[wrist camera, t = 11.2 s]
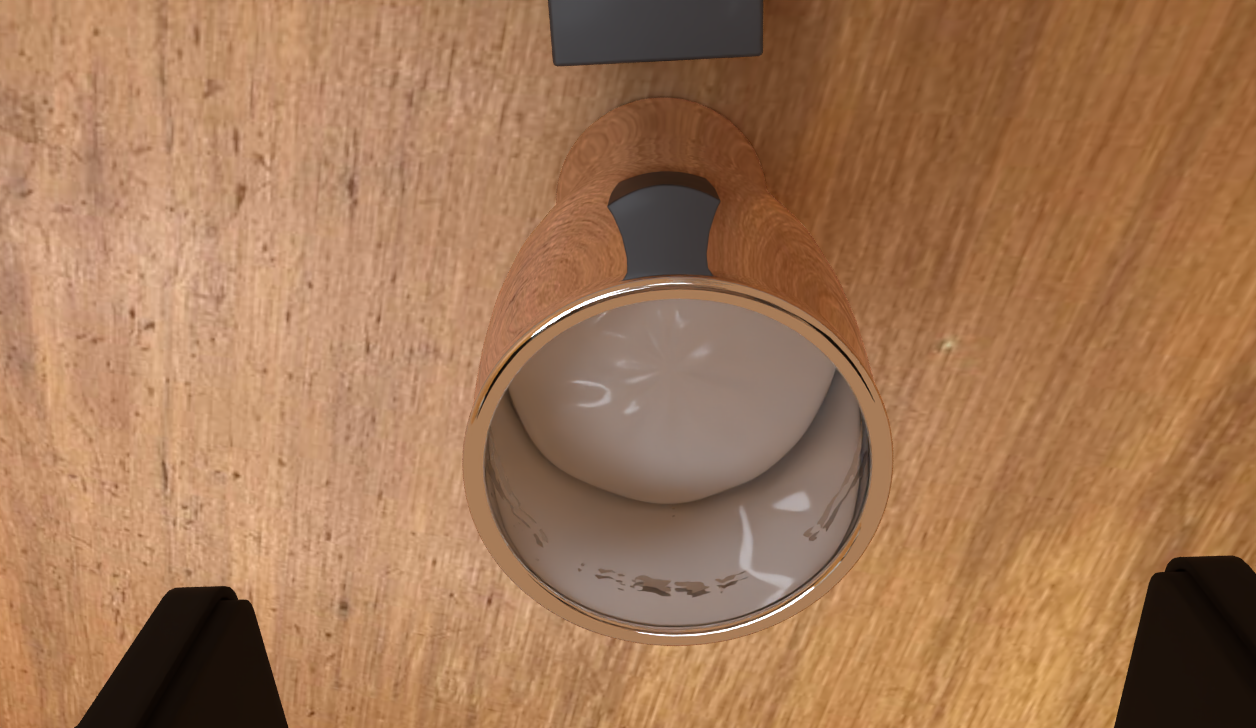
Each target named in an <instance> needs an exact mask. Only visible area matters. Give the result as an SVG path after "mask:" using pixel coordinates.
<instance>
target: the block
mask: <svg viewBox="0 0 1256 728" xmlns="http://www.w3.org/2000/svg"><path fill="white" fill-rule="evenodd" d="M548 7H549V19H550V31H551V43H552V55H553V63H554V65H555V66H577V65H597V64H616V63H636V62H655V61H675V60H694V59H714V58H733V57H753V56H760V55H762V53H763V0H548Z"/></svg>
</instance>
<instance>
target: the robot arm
mask: <svg viewBox="0 0 1256 728" xmlns="http://www.w3.org/2000/svg"><path fill="white" fill-rule="evenodd" d="M74 728H288V725H287V721H286V718H285V715H284V711H283V708H282V704H281V701H280V697H279V694H278V691H277V687H276V684H275V680H274V677H273V673H272V670H271V667H270V663H269V660H268V656H267V653H266V650H265V646H264V643H263V639H262V636H261V632H260V629H259V626H258V622H257V619H256V615H255V612H254V609H253V607H252V604H251V603H250V602H249V601H248V600H238V598H237V596H236V593H235V592H234V591H233V590H232V589H231V588H230V587H226V586H215V587H182V588H174V589H172V590H169V591H168V592H167V593H166V595H165V596H164V597H163V598H162V600H161V601H160V603H159V604H158V606H157V607H156V609H155V610H154V612H153V613H152V615H151V616H150V618H149V619H148V621H147V622H146V624H145V625H144V627H143V628H142V630H141V631H140V633H139V634H138V636H137V637H136V639H135V640H134V642H133V643H132V645H131V646H130V648H129V649H128V651H127V652H126V654H125V655H124V657H123V658H122V660H121V661H120V663H119V664H118V666H117V667H116V669H115V670H114V672H113V673H112V675H111V676H110V678H109V679H108V681H107V682H106V684H105V685H104V687H103V688H102V690H101V691H100V693H99V694H98V696H97V697H96V699H95V700H94V702H93V703H92V705H91V706H90V708H89V709H88V711H87V712H86V714H85V715H84V717H83V718H82V720H81V721H80V723H79V724H78V725H77V726H76V727H74ZM1114 728H1256V573H1255V572H1254V571H1253V570H1252V569H1251V568H1250V567H1249V565H1248V564H1247V563H1245V562H1244V561H1243V560H1242V559H1241V558H1238V557H1235V556H1201V557H1178V558H1174V559H1172V560H1171V561H1170V562H1169V563H1168V564H1167V567H1166V570H1165V572H1159V573H1155V574H1154V575H1153V576H1152V577H1151V580H1150V582H1149V585H1148V590H1147V594H1146V598H1145V602H1144V606H1143V610H1142V614H1141V618H1140V623H1139V627H1138V631H1137V635H1136V639H1135V643H1134V647H1133V651H1132V656H1131V660H1130V664H1129V668H1128V672H1127V676H1126V680H1125V684H1124V689H1123V693H1122V697H1121V701H1120V705H1119V709H1118V713H1117V717H1116V722H1115V726H1114Z"/></svg>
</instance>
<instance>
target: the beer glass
mask: <svg viewBox="0 0 1256 728" xmlns="http://www.w3.org/2000/svg"><path fill="white" fill-rule="evenodd" d="M462 467H463V481H464V489H465V494H466V499H467V503H468V507H469V510H470V514H471V516H472V519H473V522H474V524H475V527H476V529H477V531H478V533H479V535H480V537H481V539H482V541H483V543H484V545H485V546H486V548H487V550H488V551H489V553H490V554H491V556H492V557H493V559H494V560H495V561H496V563H497V564H498V565H499V567H500V568H501V569H502V570H503V571H504V573H505V574H506V575H507V576H508V577H509V578H510V579H511V580H512V581H513V582H514V583H515V584H516V585H517V586H518V587H519V588H520V589H521V590H522V591H524V592H525V593H526V594H527V595H528V596H530V597H531V598H532V599H533V600H535V601H536V602H537V603H539V604H540V605H541V606H543V607H544V608H546V609H548V610H549V611H551V612H552V613H554V614H556V615H557V616H559V617H561V618H563V619H565V620H567V621H569V622H571V623H573V624H575V625H577V626H580V627H582V628H584V629H587V630H589V631H592V632H595V633H598V634H601V635H605V636H608V637H611V638H615V639H619V640H624V641H629V642H635V643H641V644H650V645H663V646H688V645H701V644H709V643H716V642H722V641H727V640H732V639H736V638H739V637H743V636H746V635H750V634H753V633H756V632H759V631H761V630H764V629H767V628H769V627H771V626H774V625H776V624H778V623H780V622H782V621H785V620H787V619H788V618H790V617H792V616H794V615H796V614H797V613H799V612H801V611H802V610H804V609H806V608H807V607H809V606H810V605H812V604H813V603H814V602H816V601H817V600H819V599H820V598H821V597H822V596H824V595H825V594H826V593H827V592H829V591H830V590H831V589H832V588H833V587H834V586H835V585H836V584H837V583H839V582H840V581H841V580H842V578H843V577H844V576H845V575H846V574H847V573H848V572H849V571H850V570H851V569H852V568H853V566H854V565H855V564H856V563H857V561H858V560H859V559H860V557H861V556H862V555H863V553H864V551H865V550H866V548H867V547H868V545H869V544H870V542H871V540H872V538H873V537H874V535H875V533H876V531H877V529H878V526H879V524H880V522H881V519H882V517H883V514H884V511H885V508H886V506H887V502H888V498H889V494H890V489H891V483H892V475H893V442H892V434H891V428H890V423H889V419H888V416H887V412H886V409H885V406H884V403H883V401H882V398H881V396H880V393H879V391H878V389H877V387H876V385H875V382H874V379H873V375H872V371H871V367H870V363H869V360H868V356H867V353H866V350H865V347H864V343H863V340H862V337H861V334H860V330H859V327H858V324H857V322H856V319H855V317H854V314H853V312H852V309H851V307H850V305H849V302H848V300H847V297H846V295H845V293H844V290H843V288H842V286H841V284H840V281H839V280H838V278H837V276H836V274H835V272H834V270H833V269H832V267H831V265H830V264H829V262H828V261H827V259H826V257H825V256H824V254H823V253H822V251H821V249H820V248H819V246H818V244H817V243H816V241H815V240H814V238H813V237H812V236H811V234H810V233H809V232H808V230H807V229H806V228H805V227H804V226H803V224H802V223H801V222H800V221H799V220H798V219H797V218H796V217H795V216H794V215H793V214H792V213H791V212H790V211H789V210H788V209H787V208H785V207H784V206H783V205H782V204H781V203H780V202H779V201H778V200H777V199H776V198H775V197H774V196H772V195H771V194H770V193H769V192H767V188H766V182H765V177H764V173H763V170H762V167H761V164H760V161H759V159H758V157H757V155H756V153H755V151H754V149H753V147H752V146H751V144H750V143H749V141H748V140H747V138H746V137H745V136H744V135H743V133H742V132H741V131H740V130H739V129H738V128H737V127H736V126H735V125H734V124H733V123H732V122H730V121H729V120H728V119H727V118H725V117H724V116H722V115H721V114H719V113H718V112H716V111H714V110H712V109H710V108H708V107H706V106H704V105H701V104H699V103H696V102H693V101H689V100H684V99H679V98H670V97H655V98H646V99H641V100H637V101H633V102H630V103H627V104H624V105H622V106H619V107H617V108H615V109H613V110H611V111H610V112H608V113H606V114H605V115H603V116H602V117H600V118H599V119H597V120H596V121H595V122H594V123H593V124H591V125H590V126H589V127H588V128H587V129H586V130H585V131H584V132H583V133H582V134H581V135H580V137H579V138H578V139H577V140H576V142H575V143H574V145H573V146H572V148H571V149H570V151H569V153H568V155H567V157H566V159H565V161H564V163H563V166H562V169H561V172H560V175H559V180H558V185H557V192H556V205H555V206H554V207H553V208H552V209H551V210H550V211H549V213H548V214H547V215H546V216H545V217H544V219H543V220H542V221H541V222H540V223H539V225H538V226H537V227H536V228H535V229H534V231H533V232H532V233H531V234H530V236H529V237H528V238H527V240H526V241H525V243H524V244H523V246H522V247H521V249H520V251H519V252H518V254H517V256H516V258H515V260H514V262H513V264H512V266H511V268H510V270H509V272H508V275H507V277H506V279H505V281H504V283H503V285H502V288H501V290H500V292H499V294H498V297H497V300H496V303H495V306H494V309H493V312H492V316H491V319H490V323H489V326H488V330H487V333H486V337H485V340H484V344H483V349H482V354H481V359H480V364H479V370H478V375H477V381H476V387H475V394H474V402H473V407H472V410H471V413H470V416H469V419H468V423H467V427H466V432H465V437H464V444H463V458H462Z"/></svg>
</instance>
